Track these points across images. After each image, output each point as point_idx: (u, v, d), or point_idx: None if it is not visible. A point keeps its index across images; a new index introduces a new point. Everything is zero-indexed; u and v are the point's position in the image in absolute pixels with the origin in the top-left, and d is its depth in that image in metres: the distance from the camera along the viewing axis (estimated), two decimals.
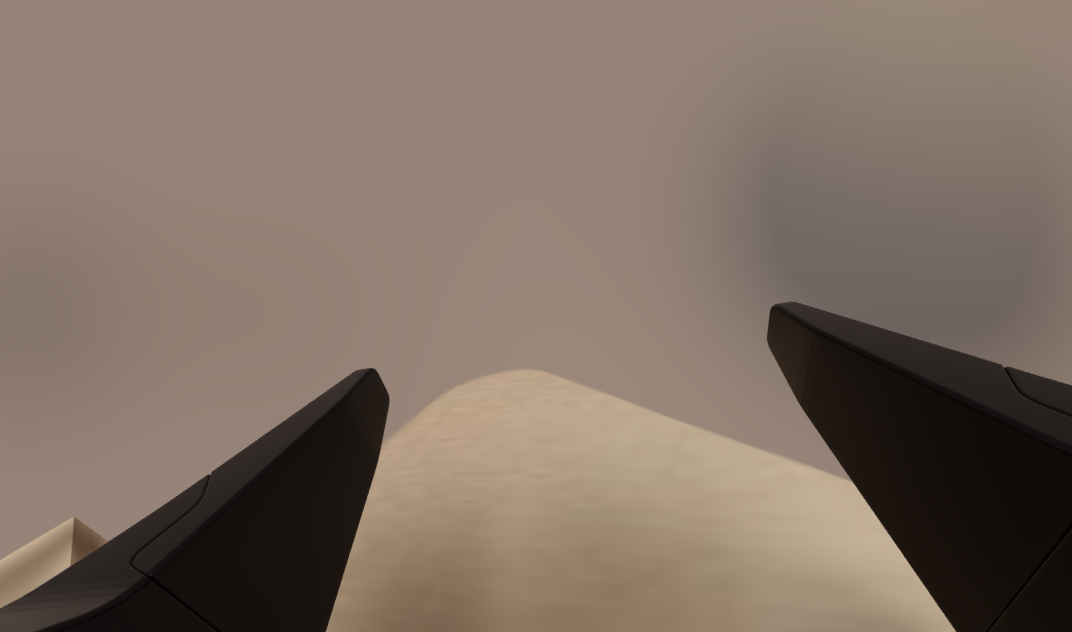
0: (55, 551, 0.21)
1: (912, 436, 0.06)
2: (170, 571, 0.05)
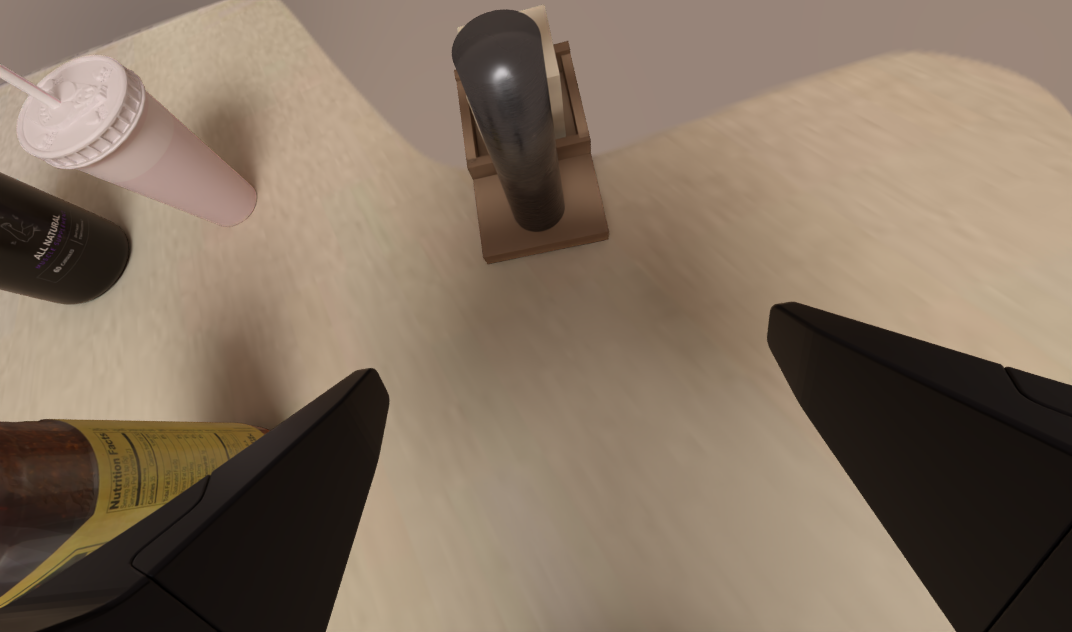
0: None
1: (912, 436, 0.06)
2: (171, 571, 0.05)
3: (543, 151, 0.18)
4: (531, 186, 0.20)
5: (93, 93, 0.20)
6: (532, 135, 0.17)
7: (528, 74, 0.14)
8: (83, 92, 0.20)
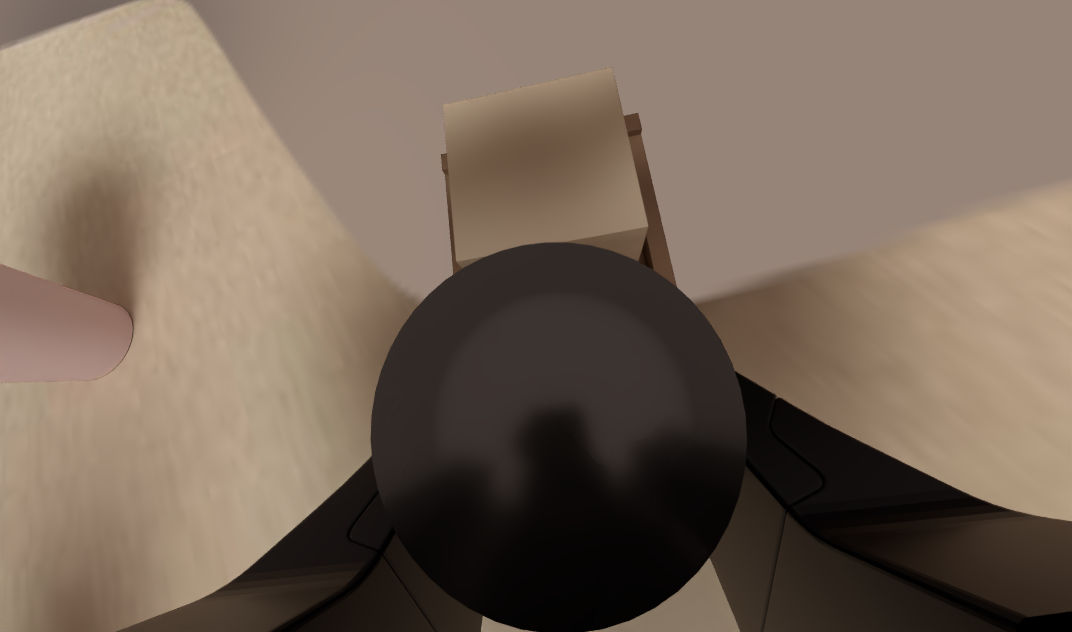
0: (603, 138, 0.11)
1: None
2: (387, 548, 0.05)
3: None
4: None
5: None
6: None
7: (684, 563, 0.03)
8: None
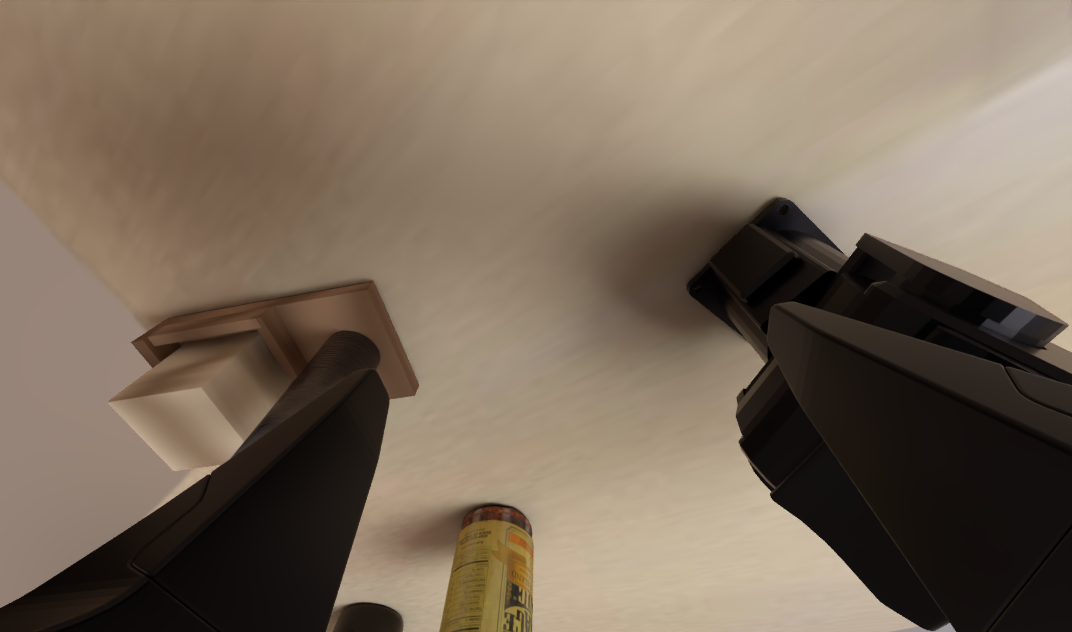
0: (157, 406, 0.19)
1: (912, 436, 0.06)
2: (171, 570, 0.05)
3: None
4: None
5: None
6: None
7: None
8: None
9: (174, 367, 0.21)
